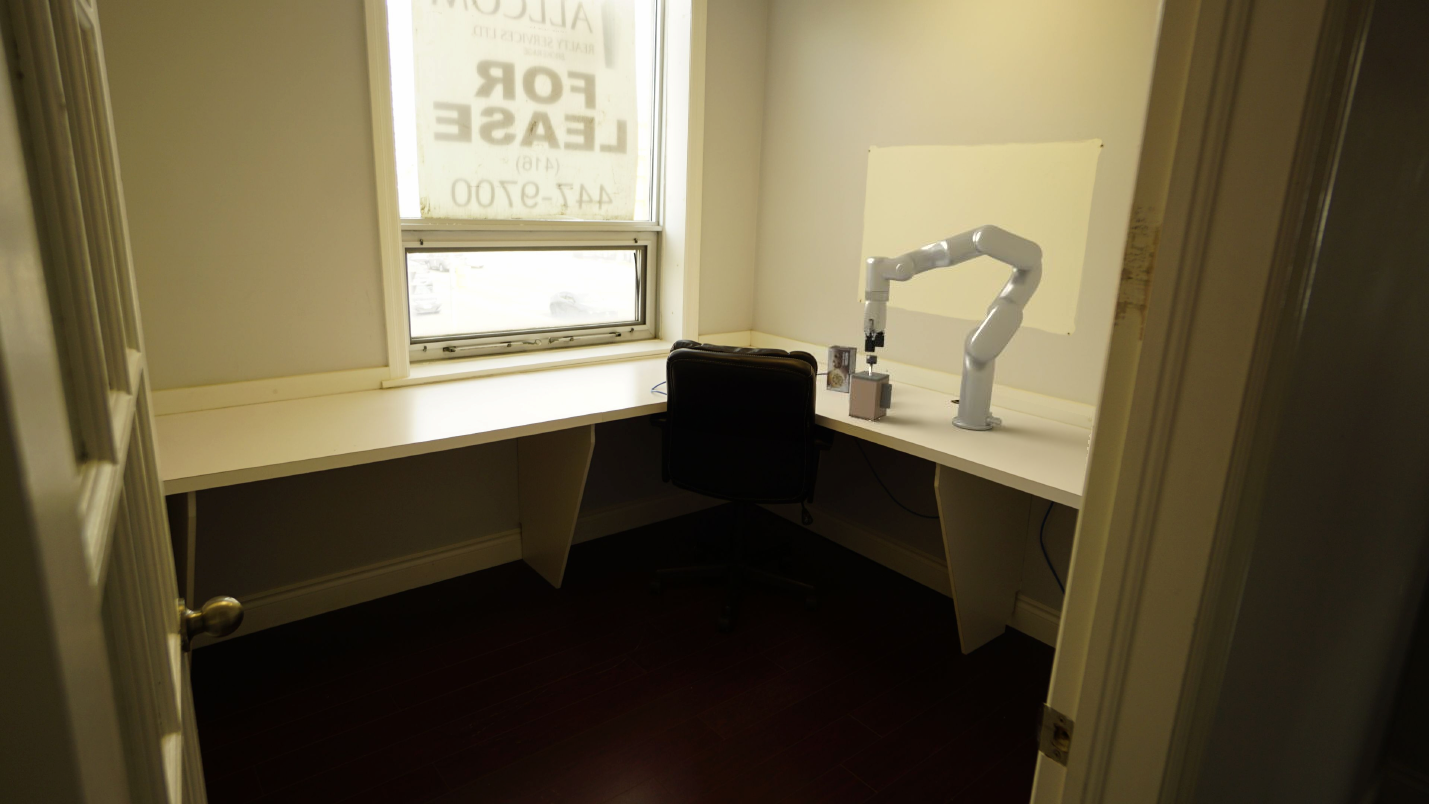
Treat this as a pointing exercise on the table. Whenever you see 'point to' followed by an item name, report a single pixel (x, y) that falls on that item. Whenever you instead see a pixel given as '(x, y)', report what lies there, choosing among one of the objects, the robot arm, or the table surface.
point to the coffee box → (840, 367)
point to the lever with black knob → (871, 362)
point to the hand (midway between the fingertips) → (874, 349)
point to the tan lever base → (869, 395)
